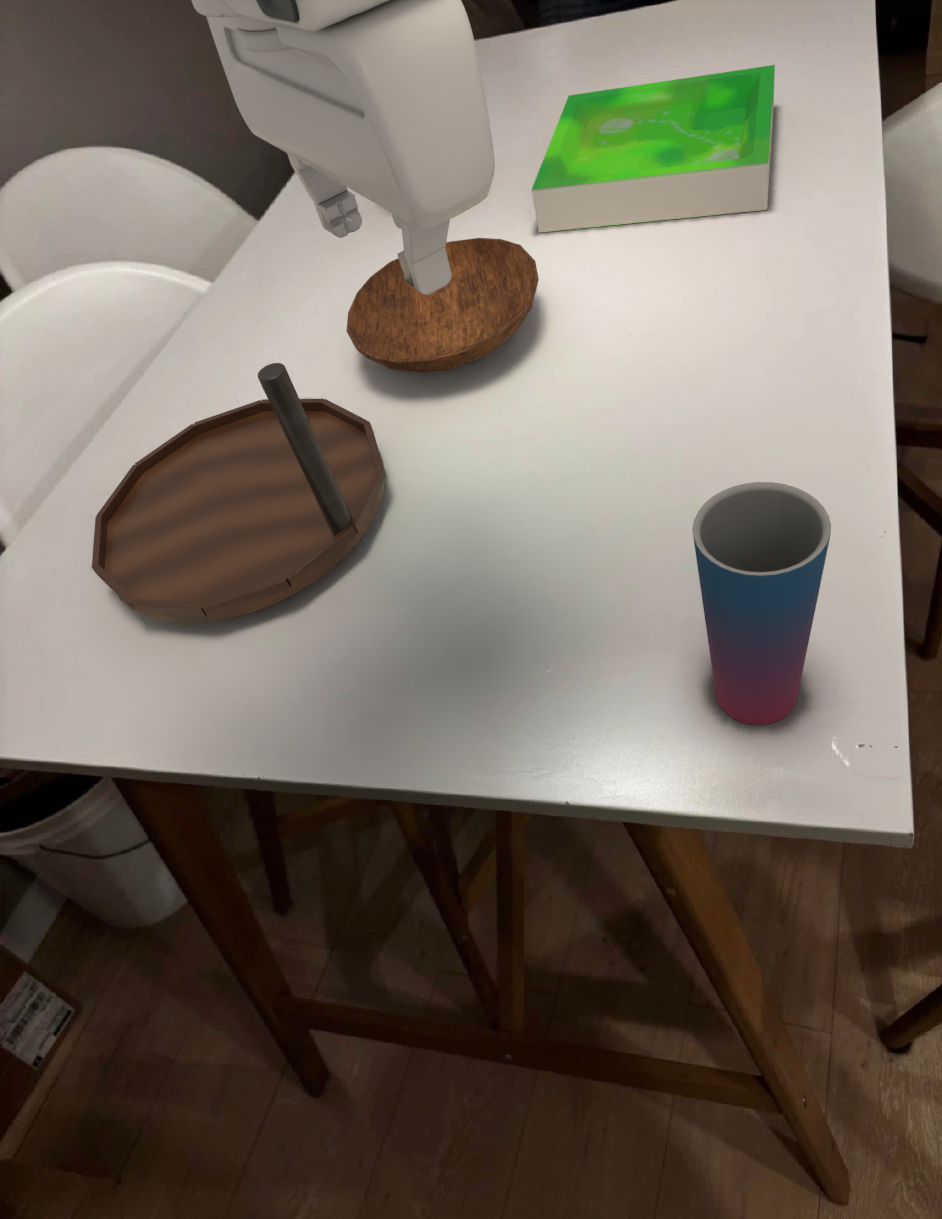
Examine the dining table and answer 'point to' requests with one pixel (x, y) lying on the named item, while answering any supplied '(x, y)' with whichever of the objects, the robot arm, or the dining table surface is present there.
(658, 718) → the dining table surface
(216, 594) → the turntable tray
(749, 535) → the cup
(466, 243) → the bowl
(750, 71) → the green flat block
